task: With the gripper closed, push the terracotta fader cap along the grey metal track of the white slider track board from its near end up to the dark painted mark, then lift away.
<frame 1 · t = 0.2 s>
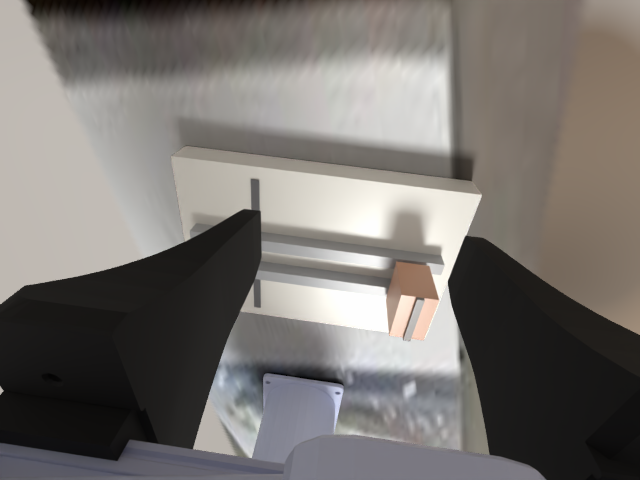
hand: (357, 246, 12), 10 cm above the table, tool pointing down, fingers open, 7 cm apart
fader: (408, 296, 20), point 4 cm above the table, slide at 0.0 cm
white slider track board: (318, 242, 24), on the table
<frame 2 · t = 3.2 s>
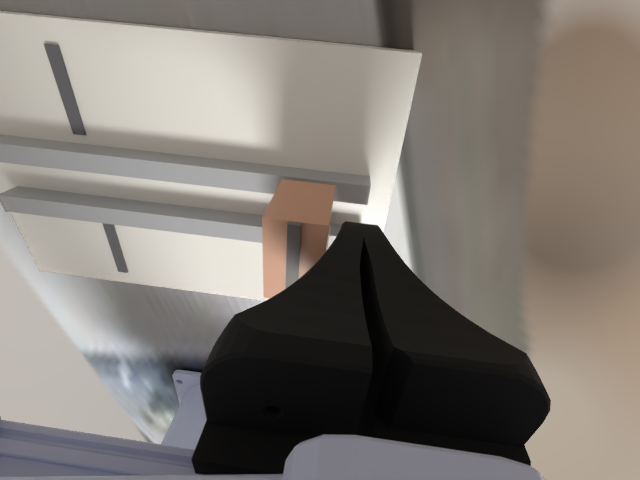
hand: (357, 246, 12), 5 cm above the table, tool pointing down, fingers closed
fader: (301, 234, 12), point 4 cm above the table, slide at 0.3 cm, touching gripper
white slider track board: (201, 173, 16), on the table
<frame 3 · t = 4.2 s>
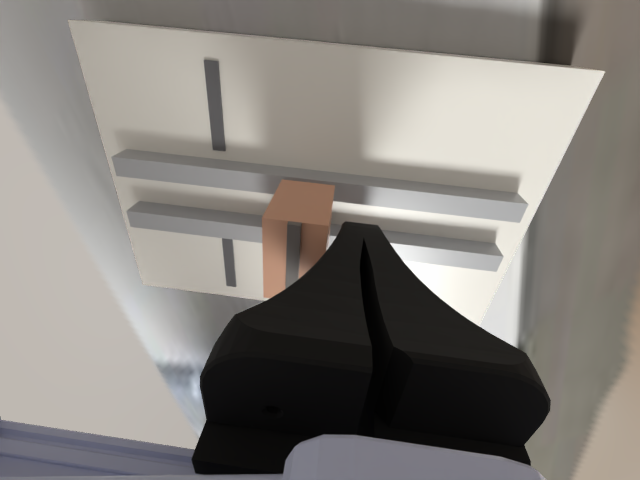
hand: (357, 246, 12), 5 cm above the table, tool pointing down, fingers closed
fader: (301, 234, 12), point 4 cm above the table, slide at 6.2 cm, touching gripper
white slider track board: (319, 187, 16), on the table
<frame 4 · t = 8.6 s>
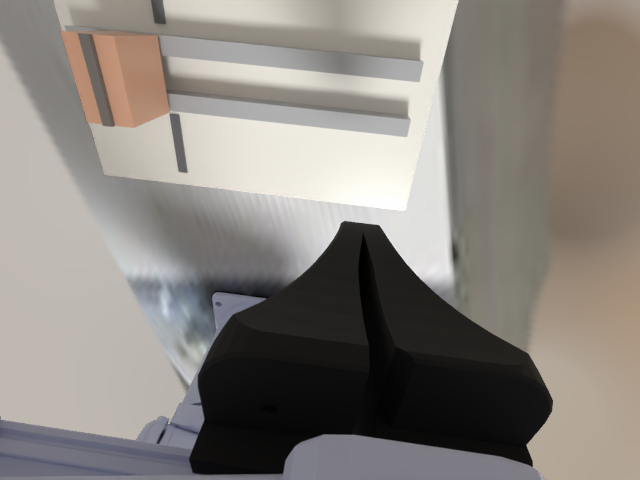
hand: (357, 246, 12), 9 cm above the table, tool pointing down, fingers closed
fader: (128, 76, 14), point 4 cm above the table, slide at 10.6 cm
white slider track board: (258, 75, 18), on the table
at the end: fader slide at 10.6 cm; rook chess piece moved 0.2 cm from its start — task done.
